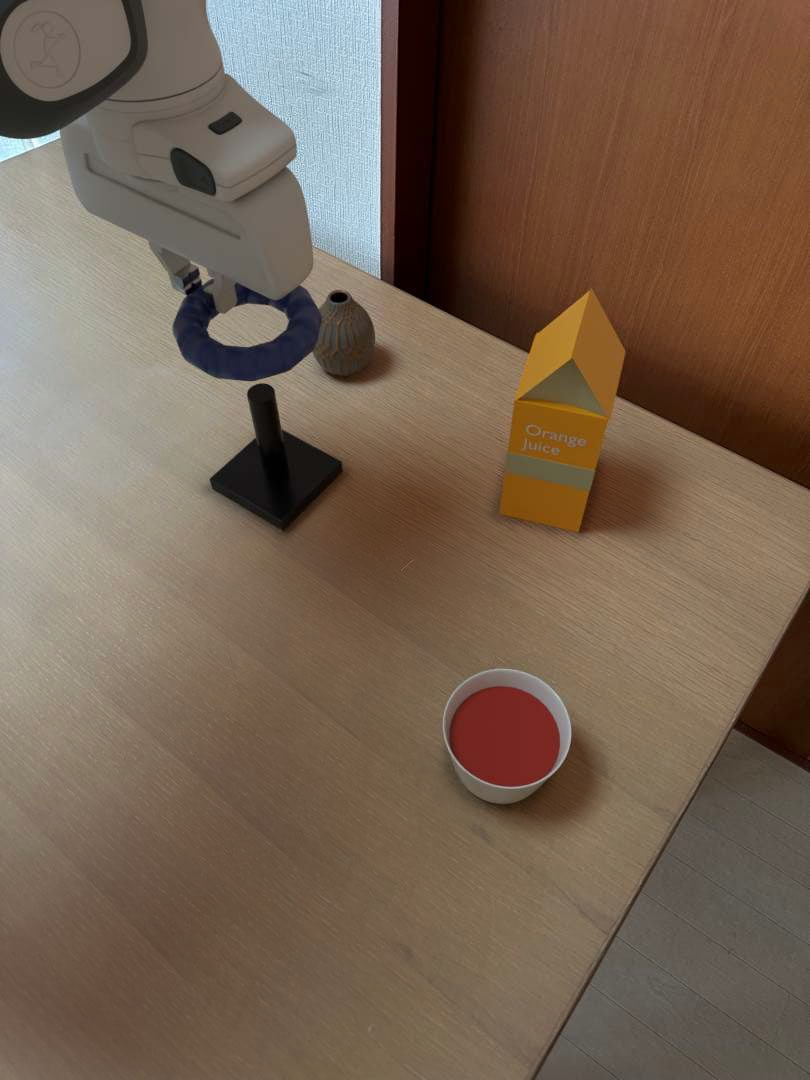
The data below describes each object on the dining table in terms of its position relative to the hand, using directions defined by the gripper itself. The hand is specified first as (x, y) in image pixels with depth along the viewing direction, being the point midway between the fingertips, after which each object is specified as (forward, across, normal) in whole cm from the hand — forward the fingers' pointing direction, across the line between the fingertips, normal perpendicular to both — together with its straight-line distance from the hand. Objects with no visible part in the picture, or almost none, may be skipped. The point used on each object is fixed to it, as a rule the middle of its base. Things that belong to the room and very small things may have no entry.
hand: (205, 298), depth 63 cm
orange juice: (+22, +24, +16) cm, 36 cm away
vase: (+22, -3, +19) cm, 29 cm away
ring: (+1, +4, 0) cm, 4 cm away
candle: (+22, +34, -10) cm, 42 cm away
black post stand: (+22, +2, +2) cm, 22 cm away
